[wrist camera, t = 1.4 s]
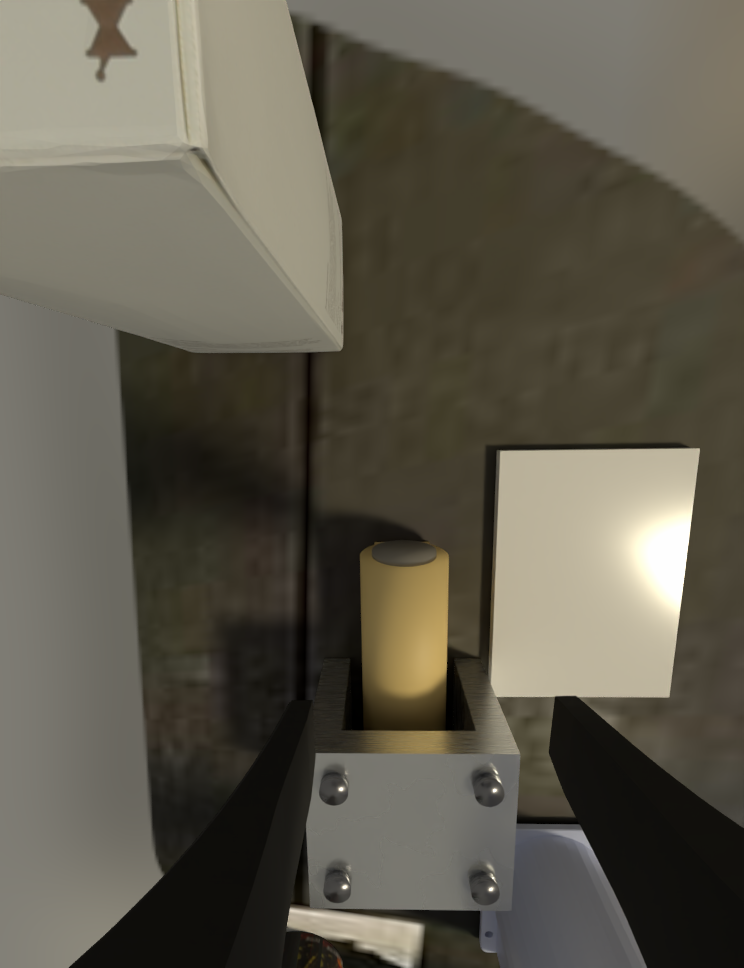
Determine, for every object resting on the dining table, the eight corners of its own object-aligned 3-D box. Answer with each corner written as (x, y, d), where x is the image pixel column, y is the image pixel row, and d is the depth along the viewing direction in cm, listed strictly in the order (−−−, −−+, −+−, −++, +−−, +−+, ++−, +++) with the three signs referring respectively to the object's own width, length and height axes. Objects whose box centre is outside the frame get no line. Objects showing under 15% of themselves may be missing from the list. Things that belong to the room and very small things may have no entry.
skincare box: (344, 220, 19) (181, -681, 3) (345, 362, 20) (224, 164, 4) (173, 220, 19) (-719, -633, 4) (183, 361, 20) (-469, 169, 5)
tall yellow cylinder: (438, 702, 23) (452, 767, 19) (365, 702, 23) (361, 767, 19) (441, 536, 21) (457, 566, 17) (361, 537, 22) (357, 566, 17)
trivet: (661, 689, 22) (669, 697, 22) (487, 689, 23) (490, 696, 22) (690, 447, 20) (699, 448, 20) (496, 449, 20) (500, 451, 20)
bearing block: (475, 777, 24) (514, 922, 17) (328, 776, 24) (308, 919, 17) (480, 658, 22) (523, 762, 16) (324, 658, 23) (300, 761, 16)
